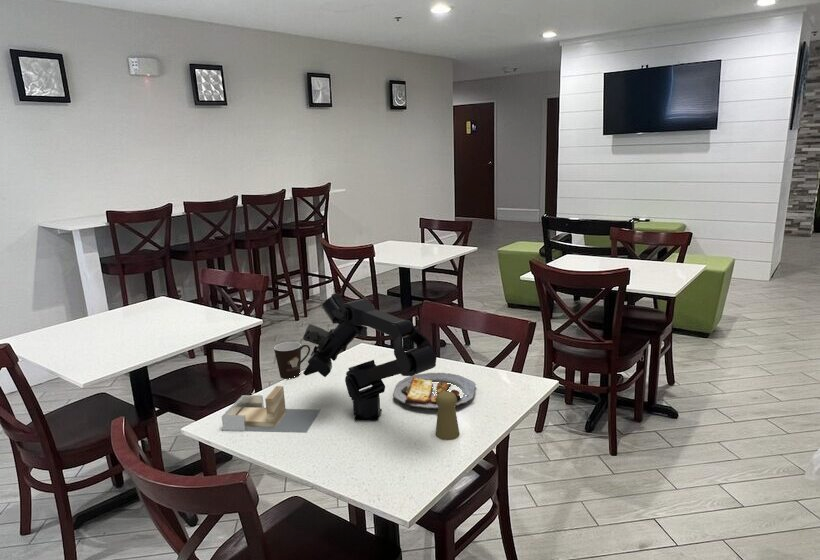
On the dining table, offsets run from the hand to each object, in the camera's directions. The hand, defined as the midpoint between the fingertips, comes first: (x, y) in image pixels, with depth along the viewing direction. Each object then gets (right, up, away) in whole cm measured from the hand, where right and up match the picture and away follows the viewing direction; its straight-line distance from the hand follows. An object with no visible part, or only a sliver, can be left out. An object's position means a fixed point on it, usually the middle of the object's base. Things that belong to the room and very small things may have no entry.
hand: (304, 374), depth 153 cm
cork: (+39, -13, -14) cm, 43 cm away
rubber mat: (-8, -12, -4) cm, 15 cm away
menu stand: (-12, -12, -3) cm, 17 cm away
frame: (-15, -12, -3) cm, 20 cm away
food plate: (+36, -8, +9) cm, 38 cm away
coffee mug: (-9, -5, +28) cm, 30 cm away
